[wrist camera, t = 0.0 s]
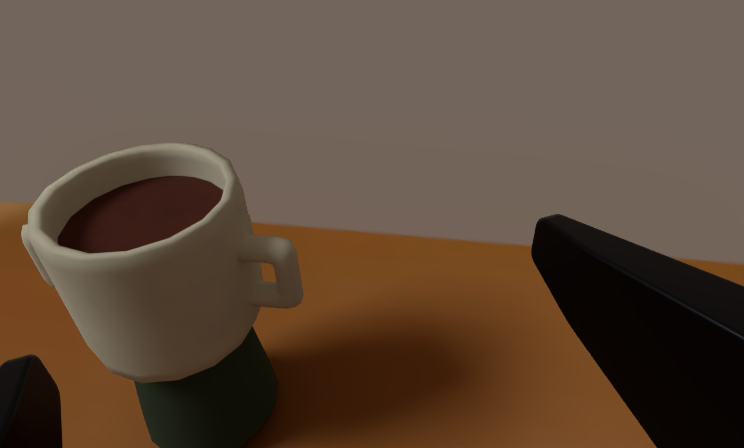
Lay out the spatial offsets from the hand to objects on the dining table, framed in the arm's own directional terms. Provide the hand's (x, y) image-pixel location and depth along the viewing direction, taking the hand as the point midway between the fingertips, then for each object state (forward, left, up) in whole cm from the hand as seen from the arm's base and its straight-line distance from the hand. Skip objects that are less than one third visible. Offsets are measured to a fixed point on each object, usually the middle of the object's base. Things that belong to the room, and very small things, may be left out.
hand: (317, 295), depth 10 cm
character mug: (+11, +4, -17) cm, 20 cm away
